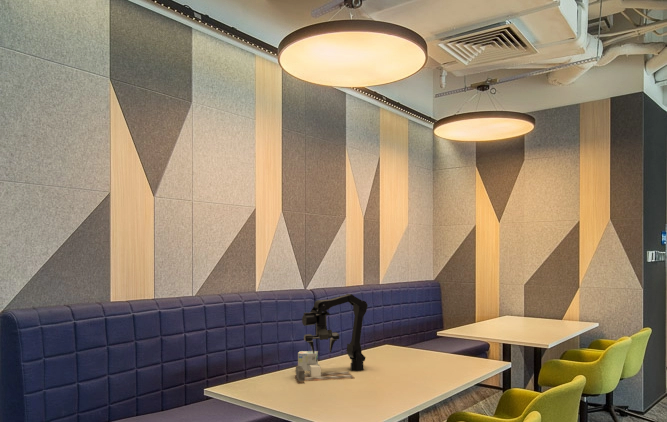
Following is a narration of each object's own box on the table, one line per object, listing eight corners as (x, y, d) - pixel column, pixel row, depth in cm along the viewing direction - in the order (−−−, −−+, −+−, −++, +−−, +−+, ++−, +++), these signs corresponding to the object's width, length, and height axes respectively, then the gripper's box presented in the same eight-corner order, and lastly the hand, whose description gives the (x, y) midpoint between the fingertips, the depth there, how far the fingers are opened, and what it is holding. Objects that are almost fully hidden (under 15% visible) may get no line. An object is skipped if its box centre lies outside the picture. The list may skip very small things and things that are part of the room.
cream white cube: (318, 375, 277) (318, 364, 277) (320, 378, 271) (320, 366, 271) (309, 376, 276) (309, 364, 276) (311, 379, 270) (311, 367, 271)
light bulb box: (318, 370, 295) (318, 350, 295) (316, 372, 288) (316, 353, 289) (299, 369, 296) (299, 350, 296) (297, 372, 289) (297, 353, 290)
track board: (349, 374, 284) (348, 363, 285) (355, 380, 270) (354, 368, 271) (294, 377, 278) (294, 365, 279) (298, 383, 265) (298, 371, 265)
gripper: (306, 327, 272) (307, 357, 271) (341, 324, 276) (342, 354, 275) (303, 324, 283) (304, 353, 282) (336, 321, 287) (337, 350, 286)
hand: (322, 352), depth 281 cm, fingers open, 9 cm apart
